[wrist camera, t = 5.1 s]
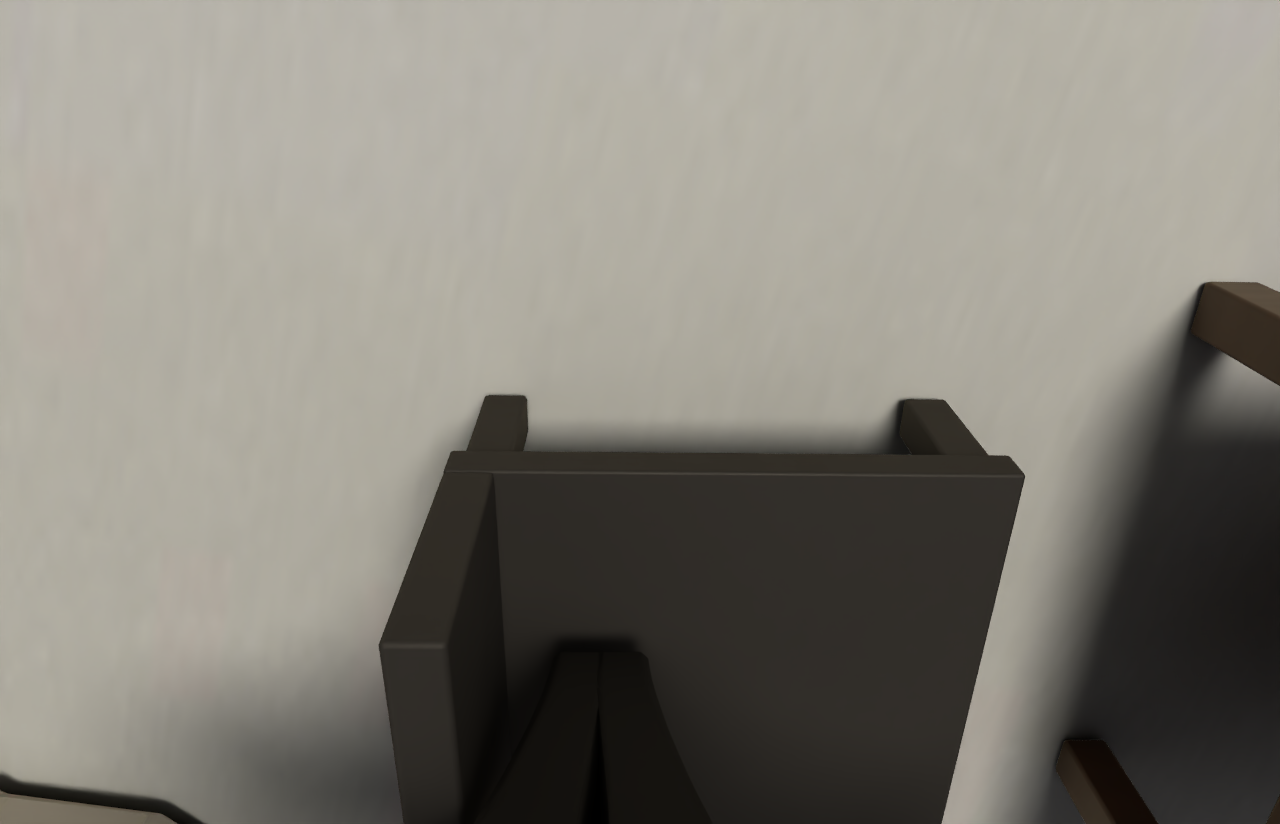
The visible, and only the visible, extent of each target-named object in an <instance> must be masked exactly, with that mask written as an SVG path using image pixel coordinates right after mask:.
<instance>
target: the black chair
mask: <svg viewBox="0 0 1280 824" xmlns="http://www.w3.org/2000/svg"><path fill="white" fill-rule="evenodd" d="M527 432H528V417H527V399H526V397H525V396H499V395H489V396H486V397H485V399H484V402H483V405H482V408H481V411H480V413H479V416H478V419H477V422H476V425H475V428H474V431H473V434H472V436H471V439H470V442H469V445H468V448H467V451H452V452H451V453H450V456H449V459H448V461H447V464H446V466H445V469H444V474H443V476H442V479H441V482H440V484H439V487H438V490H437V492H436V495H435V497H434V500H433V503H432V505H431V508H430V511H429V513H428V516H427V519H426V521H425V524H424V527H423V529H422V532H421V534H420V537H419V540H418V542H417V545H416V548H415V550H414V553H413V556H412V558H411V561H410V564H409V566H408V569H407V571H406V574H405V577H404V579H403V582H402V585H401V587H400V590H399V593H398V595H397V598H396V601H395V603H394V606H393V608H392V611H391V614H390V616H389V619H388V622H387V624H386V627H385V630H384V632H383V635H382V638H381V640H380V643H379V651H380V658H381V665H382V672H383V679H384V686H385V693H386V700H387V707H388V714H389V721H390V729H391V736H392V743H393V750H394V757H395V764H396V771H397V778H398V785H399V792H400V799H401V806H402V813H403V821H404V824H474V822H475V821H476V819H477V817H478V816H479V814H480V812H481V811H482V809H483V807H484V806H485V804H486V802H487V800H488V799H489V797H490V795H491V794H492V792H493V790H494V789H495V787H496V785H497V783H498V782H499V780H500V778H501V777H502V775H503V773H504V771H505V770H506V768H507V766H508V764H509V762H510V760H511V758H512V756H513V754H514V752H515V750H516V748H517V746H518V744H519V742H520V740H521V738H522V736H523V734H524V732H525V730H526V728H527V726H528V724H529V722H530V720H531V718H532V716H533V713H534V711H535V709H536V707H537V704H538V702H539V700H540V697H541V695H542V692H543V690H544V687H545V684H546V681H547V679H548V676H549V673H550V670H551V666H552V662H553V658H554V657H555V656H556V655H558V654H559V653H560V652H561V651H568V652H642V653H643V654H644V655H645V656H646V657H647V658H648V660H649V667H650V672H651V676H652V681H653V684H654V688H655V691H656V695H657V698H658V701H659V704H660V707H661V710H662V713H663V715H664V718H665V721H666V724H667V726H668V729H669V731H670V734H671V736H672V739H673V741H674V743H675V746H676V748H677V750H678V753H679V755H680V757H681V759H682V762H683V764H684V766H685V768H686V771H687V773H688V775H689V777H690V779H691V781H692V783H693V785H694V788H695V790H696V792H697V794H698V796H699V798H700V799H701V801H702V803H703V805H704V807H705V809H706V811H707V813H708V815H709V817H710V819H711V821H712V822H713V824H941V823H942V819H943V815H944V811H945V807H946V803H947V798H948V794H949V790H950V786H951V782H952V778H953V774H954V769H955V765H956V761H957V757H958V753H959V749H960V744H961V740H962V736H963V732H964V728H965V724H966V720H967V715H968V711H969V707H970V703H971V699H972V695H973V691H974V686H975V682H976V678H977V674H978V670H979V666H980V662H981V657H982V653H983V649H984V645H985V641H986V637H987V632H988V628H989V624H990V620H991V616H992V612H993V608H994V603H995V599H996V595H997V591H998V587H999V583H1000V579H1001V574H1002V570H1003V566H1004V562H1005V558H1006V554H1007V549H1008V545H1009V541H1010V537H1011V533H1012V529H1013V525H1014V520H1015V516H1016V512H1017V508H1018V504H1019V500H1020V496H1021V491H1022V487H1023V483H1024V479H1025V475H1024V473H1023V472H1022V471H1021V470H1020V468H1019V467H1018V466H1017V465H1016V464H1015V462H1014V461H1013V460H1012V459H1011V458H1010V457H1009V456H994V455H988V454H987V453H986V451H985V450H984V449H983V448H982V446H981V445H980V444H979V443H978V441H977V440H976V439H975V438H974V436H973V435H972V434H971V433H970V431H969V430H968V429H967V428H966V426H965V425H964V424H963V423H962V421H961V420H960V419H959V418H958V416H957V415H956V414H955V412H954V411H953V410H952V409H951V407H950V406H949V405H948V404H947V402H946V401H944V400H918V399H908V400H906V401H905V403H904V409H903V415H902V421H901V427H900V433H899V434H900V436H901V438H902V440H903V441H904V443H905V444H906V446H907V448H908V449H909V451H910V452H911V454H912V455H877V454H759V453H642V452H525V451H523V450H524V446H525V441H526V437H527Z"/></svg>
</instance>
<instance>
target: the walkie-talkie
mask: <svg viewBox="0 0 1280 824" xmlns="http://www.w3.org/2000/svg"><path fill="white" fill-rule="evenodd" d="M0 824H177V823H176V822H174V821H173V820H171V819H169V818H168V817H166V816H164V815H163V814H160V813H152V812H145V811H137V810H129V809H121V808H114V807H106V806H98V805H91V804H83V803H75V802H67V801H60V800H52V799H44V798H36V797H29V796H21V795H13V794H7V793H5V792H3V791H1V790H0Z"/></svg>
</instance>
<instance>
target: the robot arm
mask: <svg viewBox="0 0 1280 824" xmlns="http://www.w3.org/2000/svg"><path fill="white" fill-rule="evenodd" d="M474 824H713V822H712V821H711V819H710V817H709V815H708V813H707V811H706V809H705V807H704V805H703V803H702V801H701V799H700V798H699V796H698V794H697V792H696V790H695V788H694V785H693V783H692V781H691V779H690V777H689V775H688V773H687V771H686V768H685V766H684V764H683V762H682V759H681V757H680V755H679V753H678V750H677V748H676V746H675V743H674V741H673V739H672V736H671V734H670V731H669V729H668V726H667V724H666V721H665V718H664V715H663V713H662V710H661V707H660V704H659V701H658V698H657V695H656V691H655V688H654V684H653V681H652V676H651V672H650V667H649V660H648V658H647V657H646V656H645V655H644V654H643V653H642V652H568V651H561V652H560V653H559V654H558V655H556V656H555V657H554V658H553V662H552V666H551V670H550V673H549V676H548V679H547V681H546V684H545V687H544V690H543V692H542V695H541V697H540V700H539V702H538V704H537V707H536V709H535V711H534V713H533V716H532V718H531V720H530V722H529V724H528V726H527V728H526V730H525V732H524V734H523V736H522V738H521V740H520V742H519V744H518V746H517V748H516V750H515V752H514V754H513V756H512V758H511V760H510V762H509V764H508V766H507V768H506V770H505V771H504V773H503V775H502V777H501V778H500V780H499V782H498V783H497V785H496V787H495V789H494V790H493V792H492V794H491V795H490V797H489V799H488V800H487V802H486V804H485V806H484V807H483V809H482V811H481V812H480V814H479V816H478V817H477V819H476V821H475V822H474Z"/></svg>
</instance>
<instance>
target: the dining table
mask: <svg viewBox="0 0 1280 824" xmlns="http://www.w3.org/2000/svg"><path fill="white" fill-rule="evenodd" d="M1191 333H1192V334H1193V335H1195V336H1197V337H1198V338H1200V339H1202V340H1203V341H1205V342H1207V343H1208V344H1210V345H1212V346H1213V347H1215V348H1217V349H1218V350H1220V351H1222V352H1224V353H1225V354H1227V355H1229V356H1230V357H1232V358H1234V359H1235V360H1237V361H1239V362H1240V363H1242V364H1244V365H1245V366H1247V367H1249V368H1250V369H1252V370H1254V371H1256V372H1257V373H1259V374H1261V375H1262V376H1264V377H1266V378H1267V379H1269V380H1271V381H1272V382H1274V383H1276V384H1277V385H1279V386H1280V292H1278V291H1275V290H1273V289H1271V288H1269V287H1267V286H1264V285H1262V284H1260V283H1256V282H1208V283H1206V284H1205V286H1204V289H1203V292H1202V296H1201V299H1200V302H1199V305H1198V309H1197V312H1196V315H1195V318H1194V321H1193V325H1192V328H1191ZM1056 772H1057V773H1058V775H1059V777H1060V779H1061V781H1062V782H1063V784H1064V786H1065V788H1066V790H1067V791H1068V793H1069V795H1070V797H1071V799H1072V800H1073V802H1074V804H1075V806H1076V807H1077V809H1078V811H1079V813H1080V815H1081V816H1082V818H1083V820H1084V822H1085V824H1158V822H1157V820H1156V819H1155V817H1154V816H1153V814H1152V813H1151V811H1150V810H1149V808H1148V807H1147V805H1146V803H1145V802H1144V800H1143V799H1142V797H1141V796H1140V794H1139V793H1138V791H1137V790H1136V788H1135V786H1134V785H1133V783H1132V782H1131V780H1130V779H1129V777H1128V776H1127V774H1126V773H1125V771H1124V769H1123V768H1122V766H1121V765H1120V763H1119V762H1118V760H1117V759H1116V757H1115V756H1114V754H1113V752H1112V751H1111V749H1110V748H1109V746H1108V745H1107V743H1106V742H1105V741H1104V740H1065V741H1064V742H1063V746H1062V749H1061V752H1060V755H1059V758H1058V762H1057V765H1056ZM1266 824H1280V795H1279V797H1278V799H1277V801H1276V804H1275V806H1274V808H1273V810H1272V812H1271V814H1270V816H1269V818H1268V820H1267V823H1266Z"/></svg>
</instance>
